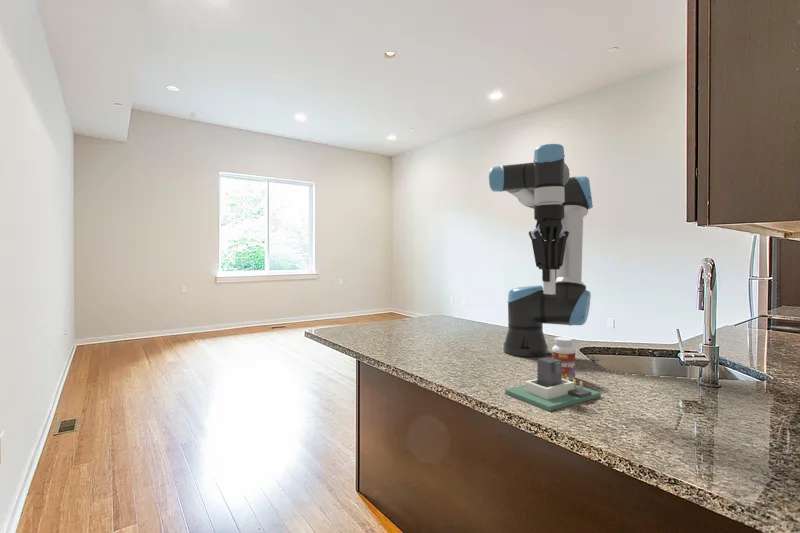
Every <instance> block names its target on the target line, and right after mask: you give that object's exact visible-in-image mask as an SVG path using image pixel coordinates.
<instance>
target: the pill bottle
mask: <svg viewBox="0 0 800 533" xmlns="http://www.w3.org/2000/svg"><path fill="white" fill-rule="evenodd" d="M554 344H555V345H553V346H552V348H551V358H554V359H558V360H562V376H563V379H565V380H567V377H569V381H573V379H575V378H576V348H575V347H574V346H573V338H571V337H566V336H565V337H564V336H558V337H554Z"/></svg>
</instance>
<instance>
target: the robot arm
mask: <svg viewBox="0 0 800 533" xmlns="http://www.w3.org/2000/svg"><path fill="white" fill-rule="evenodd" d="M533 152H534V153H533V155H534V156H533V162H527V163H526V162H525V163H514V164H506V165H504V164H503V165H502V164H501V165H499V166H497V165H496V166H492V167H491V168H490V170H489V172H488V183H489V188H490V189H491V191H492V192H498V193H499V192H500V193H501V192H507V193H509V194H510V195H512V196H514V197H515V198H516V199H517V200H518V202H519V203H520V204H521V205H523V206H524V207H527V208H530V209H533V211H534V212H533V215H534V216H533V218H534V220H535V221H536V224H535V228H534V229H533V230H530V231H528V236H529V237H530V240H531V245H532V251H533V256H534V262H535V266H536V268H538V270H541V271H542V272H541V274H542V275H541V277H542V278H541V279H542V282H543V286H542V285H527V286H521V287H520V286H519V287H515V288H512V289H510V290H509V292H508V297H507V298H508V299H507V310H508V311H507V312H508V313H507V320H508V322H507V323H508V326H507V327H508V328H507V333H506V337H505V342H504V343H503V353H505V354H508V355H511V356H516V357H527V358H528V357H530V358H531V357H542V356H546V355H548V354H549V346H548V344H547V342H546V341H547V340H546V339H545V338H546V337H545V335H544V330H543V329H544V328H543V324H544V325H545V324H547V325H549V324H550V325H563V326H571V327H572V326H583V325H585V324H586V322H587V320H588V316H589V314H590V313H589V311H590V306H591V296H592V295H591V294H592V293H591V292H590V291H589V290H587V285H586V284H585V283H584V282H583V281H582V275H583V274H582V270H583V241H584V240H583V237H584V218H585V217H586V216H587V215H588V214H589V210H590V209H592V208H593V207H594V206H593V198H592V197H593V196H592V190H591V183H590V179H589V177H587V176H576V175H575V176H572V177H571V175H570V168H569V167H568V165H567V163H566V162H565V156H566V155H565V147H564V145H562V144H560V143H547V144H541V145H539V146H536V147H535V148H534V150H533Z"/></svg>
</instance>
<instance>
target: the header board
mask: <svg viewBox="0 0 800 533" xmlns="http://www.w3.org/2000/svg"><path fill="white" fill-rule="evenodd" d="M576 383H577V379H575V378H574V379H572V380H569V377H567V380H565V379H563V376H562V384H559V385H555V386H551V387H547V388H546V387H543V386H541V385H538V382H537V378H534V379H530V380H525V381H524V385H519V386H516V387H512V388H507V389H505V390H504V391H505V392H504V394H505V395H508V396H510V397H513V398H515V399H518V400H520V401H522V402H525V403H527V404H529V405H530V404H531V405H532V406H535V407H538V408H540V409H543V410H545V411H548V412H551V411H555V410H559V409H562V408H565V407H569V406H572V405H577V404H580V403H583V402H586V401H590V400H593V399H598V398H601V397H602V394H601V392H599V391H596V390H593V389H590V388H587V387H584V386H583V381H579V385H577V384H576Z"/></svg>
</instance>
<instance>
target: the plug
mask: <svg viewBox="0 0 800 533" xmlns="http://www.w3.org/2000/svg"><path fill="white" fill-rule="evenodd" d="M536 360H537V363H536V364H537V365H536V366H537V374H536V375H537V376H536V379H537V382H538V385H541V386H543V387H546V388H547V387H551V386H555V385H559V384H562V360H558V359H554V358H552V357H550V356H547V357H542V358H538V359H537V358H536Z"/></svg>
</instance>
